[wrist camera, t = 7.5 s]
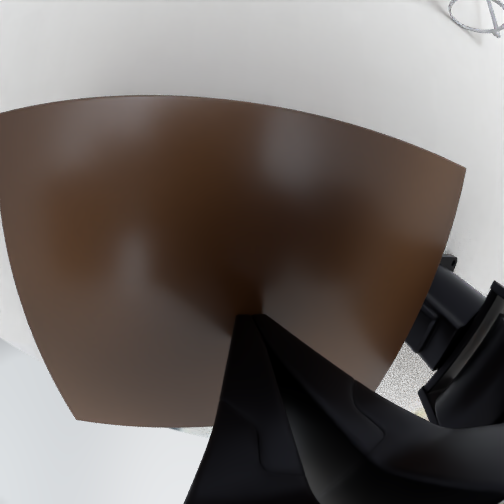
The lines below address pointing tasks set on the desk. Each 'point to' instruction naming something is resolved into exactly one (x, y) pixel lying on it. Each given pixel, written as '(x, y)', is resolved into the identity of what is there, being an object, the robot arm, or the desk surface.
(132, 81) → the desk surface
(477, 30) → the eyeglasses
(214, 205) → the lid
